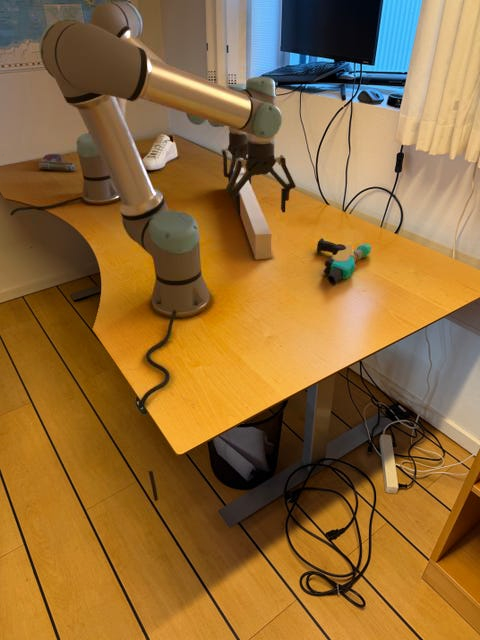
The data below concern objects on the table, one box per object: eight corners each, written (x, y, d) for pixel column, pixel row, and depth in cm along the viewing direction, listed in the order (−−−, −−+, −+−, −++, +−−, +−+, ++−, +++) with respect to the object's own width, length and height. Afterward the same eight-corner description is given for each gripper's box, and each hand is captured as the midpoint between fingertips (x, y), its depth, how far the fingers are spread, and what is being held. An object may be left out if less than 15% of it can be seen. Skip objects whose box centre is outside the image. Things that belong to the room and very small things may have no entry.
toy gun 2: (295, 266, 131) (348, 279, 125) (326, 230, 149) (373, 240, 144) (294, 280, 133) (346, 293, 128) (325, 243, 152) (371, 253, 146)
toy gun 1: (87, 162, 220) (72, 173, 209) (51, 160, 224) (33, 171, 212) (86, 154, 218) (70, 164, 206) (49, 152, 221) (31, 162, 209)
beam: (270, 258, 144) (271, 233, 140) (255, 259, 144) (255, 234, 139) (243, 187, 193) (243, 167, 188) (231, 188, 192) (231, 168, 187)
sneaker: (133, 173, 208) (129, 144, 201) (161, 153, 230) (158, 127, 223) (155, 175, 205) (151, 146, 198) (180, 155, 227) (178, 129, 220)
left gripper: (261, 127, 177) (260, 188, 190) (213, 130, 175) (216, 191, 188) (265, 133, 171) (263, 195, 184) (215, 135, 169) (218, 198, 182)
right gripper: (301, 133, 135) (298, 204, 148) (214, 139, 133) (218, 210, 145) (308, 141, 129) (304, 214, 142) (217, 147, 127) (221, 221, 139)
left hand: (239, 193), depth 186 cm, fingers closed on beam, 5 cm apart
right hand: (260, 212), depth 143 cm, fingers open, 13 cm apart
